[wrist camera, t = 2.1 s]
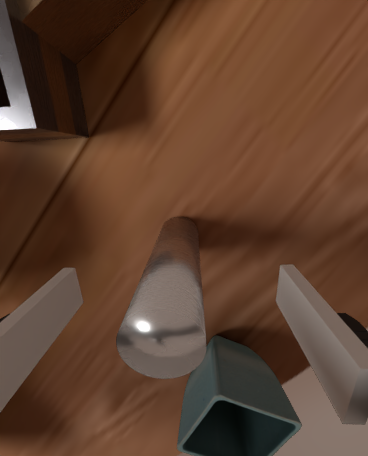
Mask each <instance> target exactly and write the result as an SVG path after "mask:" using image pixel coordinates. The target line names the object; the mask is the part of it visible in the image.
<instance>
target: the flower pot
mask: <svg viewBox="0 0 368 456" xmlns="http://www.w3.org/2000/svg"><path fill="white" fill-rule="evenodd" d="M301 426H302V424H301V422H300V420H299V418H298V416H297V415H296V413H295V411H294V409H293V407H292V405H291V403H290V401H289V399H288V397H287V396H286V394H285V392H284V390H283V388H282V386H281V384H280V383H279V381H278V379H277V377H276V376H275V374H274V373H273V371H272V370H271V368H270V367H269V366H268V365H267V364H266V363H265V361H264V360H263V359H262V358H261V357H259V356H258V355H257V354H256V353H255V352H254V351H252V350H251V349H250V348H248V347H247V346H244V345H241V344H239V343H236V342H233V341H231V340H228V339H225V338H223V337H220V336H217V335H215V336H213V337H212V339H211V340H210V342H209V343H208V345H207V347H206V354H205V357H204V359H203V361H202V362H201V364H200V365H199V366H198V367H197V368H196V369H194V370H193V371H192V372H191V374H190V377H189V379H188V382H187V385H186V389H185V393H184V398H183V405H182V412H181V420H180V427H179V436H178V443H177V449H178V450H179V451H181V452H184V453H187V454H190V455H194V456H273V455H274V454H275V453H276V452H277V451H278V450H279V448H280V447H282V446H283V445H284V444H285V443H286V442H287V441H288V440H289V439H290V438H291V437H292V436H293V435H294V434H296V433H297V432H298V431H299V430H300V428H301Z"/></svg>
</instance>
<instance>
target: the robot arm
mask: <svg viewBox="0 0 368 456" xmlns="http://www.w3.org/2000/svg"><path fill="white" fill-rule="evenodd" d="M276 303H277V305H278V307H279V308H280V310H281V312H282V314H283V316H284V318H285V319H286V321H287V323H288V325H289V327H290V328H291V330H292V332H293V334H294V336H295V338H296V339H297V341H298V343H299V345H300V347H301V349H302V350H303V352H304V354H305V356H306V358H307V360H308V361H309V363H310V365H311V367H312V369H313V370H314V372H315V374H316V376H317V378H318V380H319V382H320V383H321V385H322V387H323V389H324V391H325V392H326V394H327V396H328V398H329V400H330V402H331V403H332V405H333V407H334V409H335V411H336V413H337V414H338V416H339V418H340V420H341V422H342V424H363V425H364V424H365V423H366V421H367V418H368V331H367V330H366V329H365V328H364V327H363V326H362V325H361V324H360V323H359V322H358V321H357V320H355V319H354V318H352V317H351V316H349V315H348V314H346V313H336V312H335V311H334V310H333V309H332V308H331V307H330V306H329V304H328V303H327V302H326V301H325V300H324V299H323V298H322V297H321V295H320V294H319V293H318V292H317V291H316V290H315V289H314V288H313V286H312V285H311V284H310V283H309V282H308V281H307V280H306V279H305V277H304V276H303V275H302V274H301V273H300V272H299V271H298V270H297V268H296V267H295V266H294V265H280V271H279V280H278V288H277V296H276ZM82 304H83V298H82V294H81V290H80V286H79V282H78V278H77V274H76V270H75V268H63V269H62V270H61V271H60V272H58V273H57V274H56V275H55V276H54V277H53V278H51V279H50V280H49V281H48V282H47V283H46V284H44V285H43V286H42V287H41V288H40V289H39V290H37V291H36V292H35V293H34V294H33V295H32V296H31V297H29V298H28V299H27V300H26V301H25V302H24V303H22V304H21V305H20V306H19V307H18V308H17V309H15V310H14V311H13V312H12V313H11V314H8V315H6V316H5V317H3V318H1V319H0V412H1V411H2V410H3V408H4V407H5V406H6V404H7V403H8V402H9V400H10V399H11V398H12V396H13V395H14V394H15V392H16V391H17V390H18V388H19V387H20V386H21V384H22V383H23V382H24V380H25V379H26V378H27V376H28V375H29V374H30V373H31V371H32V370H33V369H34V367H35V366H36V365H37V363H38V362H39V361H40V359H41V358H42V357H43V355H44V354H45V353H46V351H47V350H48V349H49V347H50V346H51V345H52V343H53V342H54V341H55V339H56V338H57V337H58V335H59V334H60V333H61V332H62V330H63V329H64V328H65V326H66V325H67V324H68V322H69V321H70V320H71V318H72V317H73V316H74V314H75V313H76V312H77V310H78V309H79V308H80V306H81V305H82Z"/></svg>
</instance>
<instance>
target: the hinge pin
mask: <svg viewBox="0 0 368 456" xmlns="http://www.w3.org/2000/svg"><path fill="white" fill-rule="evenodd" d="M116 344H117V349H118V352H119V354H120V356H121V358H122V359H123V360H124V362H125V363H126V364H127V365H128V366H129V367H131V368H132V369H133V370H135V371H137V372H139V373H141V374H143V375H146V376H149V377H153V378H160V379H170V378H176V377H181V376H183V375H186V374H188V373H190V372H192V371H193V370H194V369H196V368H197V367H198V366H199V365H200V364H201V362H202V361H203V359H204V357H205V354H206V334H205V320H204V307H203V293H202V280H201V267H200V253H199V240H198V230H197V227H196V225H195V224H194V223H193V222H192V221H191V220H190V219H188V218H185V217H173V218H171V219H169V220H167V221H166V222H165V223H164V225H163V227H162V229H161V231H160V234H159V236H158V239H157V241H156V243H155V246H154V248H153V250H152V253H151V255H150V258H149V260H148V262H147V265H146V267H145V269H144V272H143V274H142V277H141V279H140V281H139V284H138V286H137V289H136V291H135V293H134V296H133V298H132V300H131V303H130V305H129V308H128V310H127V312H126V315H125V317H124V319H123V322H122V324H121V327H120V329H119V331H118V334H117V340H116Z"/></svg>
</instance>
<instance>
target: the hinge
mask: <svg viewBox="0 0 368 456" xmlns="http://www.w3.org/2000/svg"><path fill="white" fill-rule="evenodd" d="M146 1H147V0H0V69H1V71H0V141H4V142H12V141H31V140H50V139H68V138H87V137H89V135H88V129H87V124H86V118H85V112H84V107H83V101H82V95H81V90H80V84H79V78H78V73H77V67H76V64H77V63H78V62H79V61H80V60H81V59H82V58H83V57H85V56H86V55H87V54H88V53H89V52H90V51H91V50H92V49H94V48H95V47H96V46H97V45H98V44H99V43H100V42H101V41H102V40H104V39H105V38H106V37H107V36H108V35H109V34H110V33H111V32H112V31H114V30H115V29H116V28H117V27H118V26H119V25H120V24H121V23H123V22H124V21H125V20H126V19H127V18H128V17H129V16H130V15H131V14H133V13H134V12H135V11H136V10H137V9H138V8H139V7H140V6H141V5H143V4H144V3H145V2H146ZM1 72H2V74H1ZM2 76H3V78H2ZM3 79H4V81H3ZM4 83H5V85H4ZM5 87H6V89H5ZM6 90H7V92H6ZM7 94H8V96H7ZM8 97H9V99H8ZM9 101H10V103H9ZM10 105H11V106H10Z"/></svg>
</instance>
